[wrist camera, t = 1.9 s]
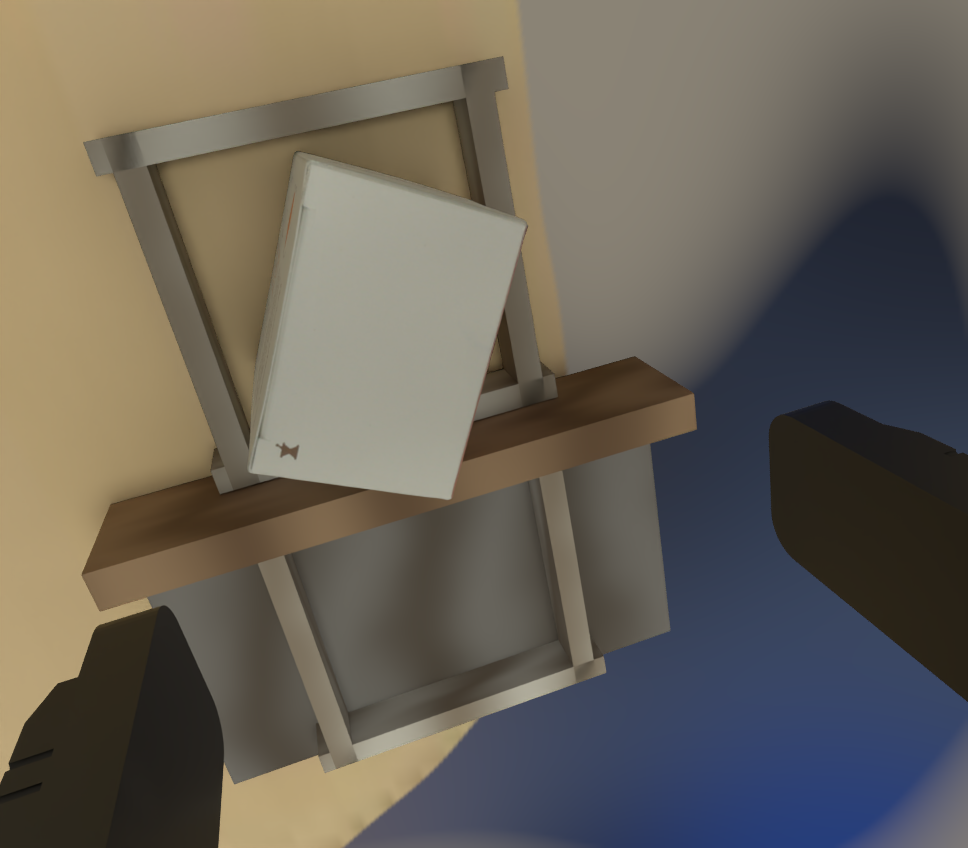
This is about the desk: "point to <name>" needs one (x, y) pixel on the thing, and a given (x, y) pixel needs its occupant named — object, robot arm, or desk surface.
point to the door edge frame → (391, 503)
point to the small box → (377, 330)
